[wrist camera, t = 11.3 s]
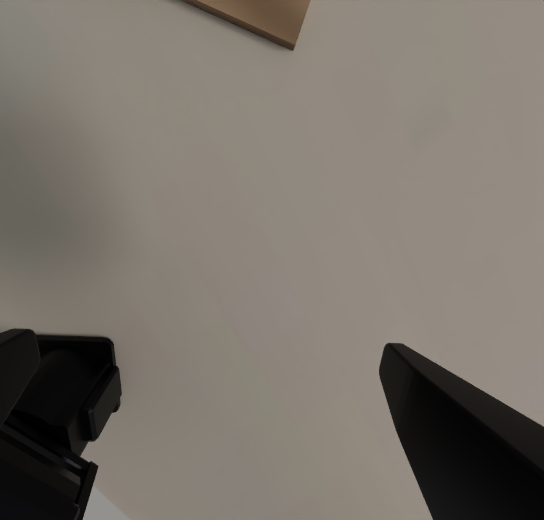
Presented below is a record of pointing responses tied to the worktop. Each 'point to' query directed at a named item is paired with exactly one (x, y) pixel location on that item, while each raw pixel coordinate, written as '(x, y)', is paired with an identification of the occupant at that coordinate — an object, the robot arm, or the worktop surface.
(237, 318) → the worktop surface
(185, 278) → the worktop surface
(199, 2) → the socket board
